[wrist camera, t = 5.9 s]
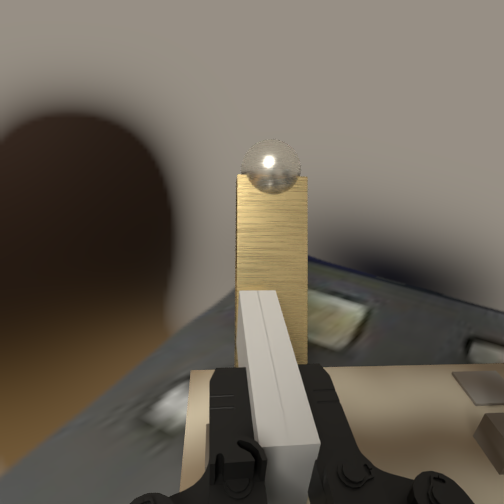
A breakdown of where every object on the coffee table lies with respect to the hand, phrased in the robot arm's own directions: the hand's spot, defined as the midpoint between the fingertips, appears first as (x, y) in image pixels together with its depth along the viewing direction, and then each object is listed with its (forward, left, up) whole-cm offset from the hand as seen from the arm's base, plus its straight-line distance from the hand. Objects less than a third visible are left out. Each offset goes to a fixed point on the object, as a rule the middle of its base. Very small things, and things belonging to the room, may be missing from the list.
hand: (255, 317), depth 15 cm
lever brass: (-2, 0, -6) cm, 6 cm away
